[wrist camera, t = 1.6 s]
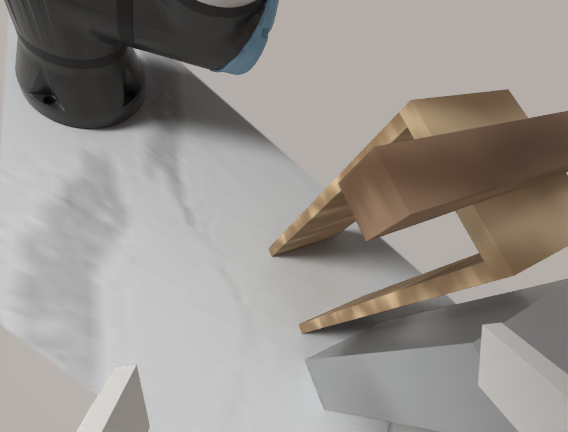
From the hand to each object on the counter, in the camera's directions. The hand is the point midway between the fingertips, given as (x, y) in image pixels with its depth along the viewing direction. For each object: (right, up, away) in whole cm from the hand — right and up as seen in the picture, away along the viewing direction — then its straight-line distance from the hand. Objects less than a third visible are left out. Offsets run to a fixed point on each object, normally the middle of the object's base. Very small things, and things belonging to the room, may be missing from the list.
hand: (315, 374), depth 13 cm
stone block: (+8, -13, +32) cm, 36 cm away
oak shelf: (+4, -3, +35) cm, 36 cm away
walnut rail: (+11, +9, +8) cm, 16 cm away
